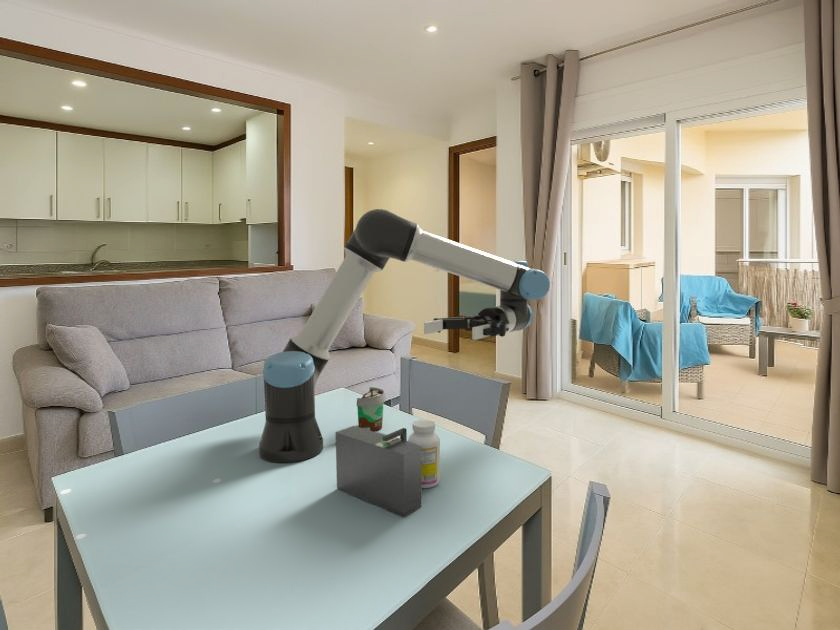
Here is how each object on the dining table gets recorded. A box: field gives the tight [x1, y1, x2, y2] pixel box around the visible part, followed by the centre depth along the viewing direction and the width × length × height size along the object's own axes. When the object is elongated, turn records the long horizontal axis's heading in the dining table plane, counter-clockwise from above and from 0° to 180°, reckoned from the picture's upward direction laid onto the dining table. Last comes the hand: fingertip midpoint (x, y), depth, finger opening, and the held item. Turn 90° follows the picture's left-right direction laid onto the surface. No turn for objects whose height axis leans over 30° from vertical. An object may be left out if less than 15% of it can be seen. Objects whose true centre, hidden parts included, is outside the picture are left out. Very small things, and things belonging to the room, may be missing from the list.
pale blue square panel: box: [375, 427, 413, 443], centre depth 99 cm, size 10×6×12 cm, turn 52°
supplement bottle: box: [407, 419, 441, 489], centre depth 105 cm, size 7×7×13 cm
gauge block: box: [335, 425, 422, 518], centre depth 98 cm, size 18×5×12 cm, turn 52°
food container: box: [356, 386, 387, 432], centre depth 138 cm, size 12×6×10 cm, turn 168°
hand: (448, 330), depth 115 cm, fingers open, 13 cm apart
